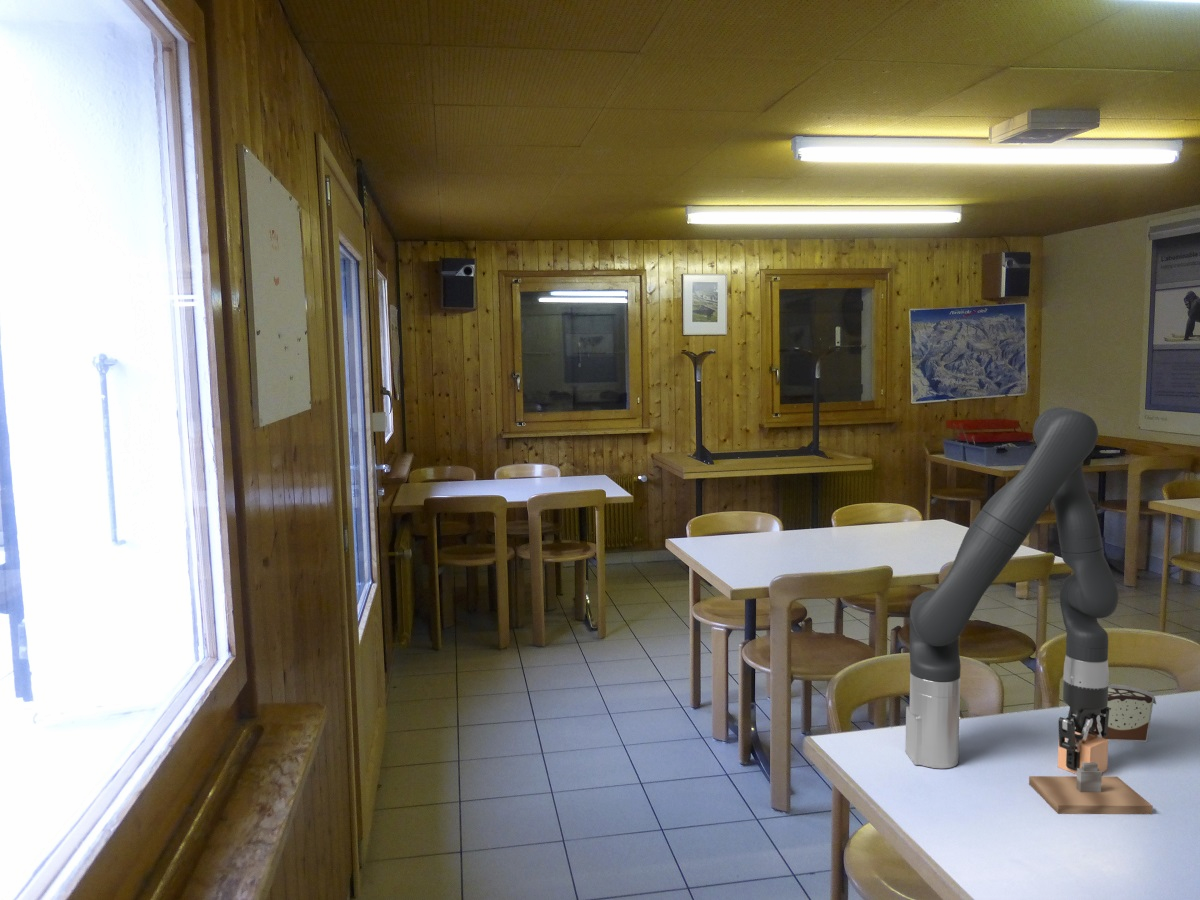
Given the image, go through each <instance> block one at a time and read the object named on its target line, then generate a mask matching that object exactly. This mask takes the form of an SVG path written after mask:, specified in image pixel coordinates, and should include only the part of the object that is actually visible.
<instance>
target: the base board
mask: <svg viewBox="0 0 1200 900" xmlns="http://www.w3.org/2000/svg"><path fill="white" fill-rule="evenodd" d="M1028 784H1029V786H1030V787H1031V788H1032V789H1034V791H1035V792H1036V793H1037V794H1038V795H1039V796H1040V797H1041V798H1042V799H1043V800H1044V802H1046V803H1047V804H1048V805H1049V806H1050V808H1052V810H1054V812H1056V814H1058V815H1059V814H1061V815H1062V814H1063V815H1065V814H1066V815H1067V814H1069V815H1072V814H1073V815H1074V814H1075V815H1078V814H1079V815H1082V814H1083V815H1102V814H1103V815H1153V808H1154V807H1153V805H1152V804H1151V803H1150V802H1149V801H1148V800H1146V799H1145V798H1144V797H1143V796H1142V795H1140V794H1139V793H1138V792H1137V791H1136V790H1134V789H1133V788H1132V787H1130V786H1129V785H1128V784H1127V783H1126V782H1124V781H1123V780H1122V779H1121V778H1120V777H1118V776H1103V772H1101V771H1100V770H1099V769H1098V764H1096V763H1082V768H1077V774H1076V776H1072V775H1071V776H1070V775H1069V776H1068V775H1067V776H1065V775H1064V776H1062V775H1061V776H1060V775H1058V776H1052V775H1050V776H1049V775H1047V776H1046V775H1045V776H1043V775H1042V776H1041V775H1037V776H1035V775H1033V776H1032V775H1029V778H1028Z"/></svg>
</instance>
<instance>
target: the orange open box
mask: <svg viewBox="0 0 1200 900" xmlns="http://www.w3.org/2000/svg"><path fill="white" fill-rule="evenodd" d="M1075 734H1077V735H1081V733H1078V732H1075ZM1065 741H1066V738H1065ZM1076 742H1077V739H1076V738H1075V745H1076ZM1057 750H1058V751H1057V752H1058V755H1057V768H1059V769H1062V770H1064V771H1067V772H1070V773H1073V774H1074V775H1075V774H1076V775H1077V771H1075V770H1072V769H1069V768H1067V766H1066V754H1067V750H1066V749H1064V748H1062V747H1060V746H1059V745H1058V749H1057ZM1079 752H1080V765H1079V768H1082V763H1096V764H1098V769H1099V770H1100V771H1101V772H1102V773H1104V772H1106V771H1108V754H1109V741H1108V740H1107V739H1104V738H1101V737H1096V736H1095V735H1092V734H1089V733H1088V735H1087V738H1086V741H1083V742H1082V744H1081V749H1080V751H1079Z"/></svg>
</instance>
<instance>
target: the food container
mask: <svg viewBox="0 0 1200 900" xmlns="http://www.w3.org/2000/svg"><path fill="white" fill-rule="evenodd" d="M1154 705H1157V700H1156V697H1155V694H1154V693H1153V692H1150V691H1148V690H1145V689H1142V688H1139V687H1136V686H1130V685H1124V684H1123V685H1122V684H1113V683H1112V684H1109V683H1108V705H1107V707H1109V720H1108V730H1107V736H1106V737H1102V738H1104V739H1107V740H1108V742H1109V741H1115V742H1117V741H1118V742H1122V741H1123V742H1143V743H1144V742H1146V743H1147V742H1148V739H1149V737H1148V736H1149V732H1150V724H1151V719H1152V713H1153V706H1154ZM1101 727H1102V724H1101Z"/></svg>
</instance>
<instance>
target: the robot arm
mask: <svg viewBox="0 0 1200 900" xmlns="http://www.w3.org/2000/svg"><path fill="white" fill-rule="evenodd" d="M1032 434H1033V438H1034V442H1035V445H1036V448H1035V449H1034V450H1033V452H1032V455H1031V456H1030V458H1028V461H1027V462H1026V464H1025V465H1024V466H1023V468H1022V469H1021V470H1020V471H1019V472H1018V473H1017V474H1015V476H1014V477H1013V478H1012V479H1010V480H1009V481H1008V482H1007V483H1005V485H1004V486H1002V487H1001V488H1000V489H998V490H997V492H995V493H994V494H993V495H992V496H991V497H990V498H989V499H988V500H987V501H986V503H985V504H984V505H983V507H982V508H981V509H980V511H979V513H978V514H977V515H976V517H975V518H974V519H973V521H972V522H971V524H970V526H968V529H967V531H966V533H965V535H964V536H963V538H962V542H961V544H960V546H959V548H958V551H957V553H956V556H955V559H954V561H953V563H952V565H951V567H950V569H949V571H948V573H947V574H946V576H945V577H944V579H943V580H942V582H940V584H939V585H938V586H937V588H936V589H935V590H934V589H933V590H927V591H924V592H921V593H920V594H918V595H917V596H916V597H915V598H914V600H913V601H912V602H911V606H910V608H909V609H910V610H909V663H910V664H909V667H910V669H909V671H910V672H909V674H910V675H909V677H910V678H909V706H908V705H907V706H906V707H905V708H906V709H905V747H904V748H905V754H906V755H907V756H908V757H909V759H910V760H911V762H912V763H913V764H914V765H915V766H924V767H927V768H932V769H950V768H954V767H956V766H957V765H958V763H959V755H960V751H959V746H960V744H959V743H960V712H961V711H960V707H961V699H960V698H961V667H962V666H961V659H960V658H961V657H960V648H959V647H960V646H959V644H960V636H961V635H962V633H963V631H964V630H965V628H966V626H967V624H968V622H969V620H970V618H971V617H972V615H973V613H974V611H975V610H976V607H977V606H978V604H979V602H980V601H981V599H982V598H983V596H984V595H985V593H986V591H987V590H988V588H989V587H991V585H992V584H993V583H994V582H995V580H996V578H998V577H999V575H1000V574H1001V572H1002V571H1003V570H1004V569H1005V567H1006V566H1007V564H1008V563H1009V562H1010V560H1011V559H1012V558H1013V557H1014V555H1015V554H1016V553H1017V552H1018V550H1019V549H1020V547H1021V546H1022V544H1024V541H1025V540H1026V539H1027V537H1028V536H1029V535H1030V533H1031V531H1032V530H1033V528H1034V526H1035V525H1036V524H1037V522H1038V521H1039V519H1040V517H1041V516H1042V515H1043V513H1044V512H1045V510H1047V508H1048V506H1049V505H1050V504H1051V502H1052V505H1053V510H1054V514H1055V523H1056V528H1057V534H1058V535H1057V536H1058V542H1059V548H1060V555H1061V558H1062V561H1063V562H1064V564H1065V565H1066V566H1067V567H1069V568H1070V569H1071V570H1072V571H1073V574H1070V575H1068V576H1067V577H1066V578H1065V579H1064V581H1063V582H1062V584H1061V587H1060V591H1059V604H1060V611H1061V615H1062V620H1063V623H1064V624H1063V625H1064V627H1065V631H1066V638H1065V640H1066V641H1065V658H1064V663H1063V677H1062V679H1063V682H1062V683H1063V684H1062V700H1063V702H1064V703H1065V704H1066V705H1068V707H1069V711H1068V713H1067V717H1066V718H1065V717H1061V716H1060V717H1059V718H1058V747H1059V746H1060V747H1062V748H1064V749H1066V750H1067V754H1066V766H1067V768H1069V769H1072V770H1075V771H1077V768H1079V765H1080V752H1079V751H1080V749H1081V744H1082V742H1083V741H1086V738H1087V735H1088V733H1089V734H1092V735H1095V736H1096V737H1101V738H1102V737H1106V736H1107V730H1108V720H1109V707H1107V705H1108V684H1109V677H1110V673H1109V671H1110V670H1109V660H1108V659H1109V635H1108V632H1107V631H1106V630H1105V628H1104V627H1102V626H1101V624H1100V623H1099V622H1098V619H1104V618H1108V617H1110V616H1111V615H1112V614H1113V613H1114V612H1115V610H1116V609H1117V607H1118V603H1119V590H1118V586H1117V583H1116V581H1115V578H1114V575H1113V572H1112V570H1111V568H1110V566H1109V563H1108V561H1107V559H1106V557H1105V555H1104V546H1103V539H1102V534H1101V533H1102V532H1101V528H1100V522H1099V519H1098V515H1097V512H1096V509H1095V506H1094V503H1093V501H1092V499H1091V496H1090V493H1089V491H1088V488H1087V484H1086V480H1085V476H1084V471H1083V464H1082V463H1083V462H1084V461H1085V460H1086V458H1088V456H1089V455H1090V454H1091V453H1092V452H1093V451H1094V449H1095V446H1096V444H1097V442H1098V439H1099V429H1098V426H1097V423H1096V421H1095V420H1094V419H1093V418H1092V417H1091V416H1090V415H1089V414H1087V413H1084V412H1082V411H1079V410H1076V409H1072V408H1067V407H1059V406H1058V407H1052V408H1049V409H1047V410H1045V411H1043V412H1042V413H1041V414H1039V416H1038V417H1037V418H1036V420H1035V421H1034V425H1033V431H1032ZM1101 724H1102V727H1101ZM1075 732H1078V733H1081V735H1077V734H1075ZM1065 738H1066V741H1065ZM1075 738H1076V739H1077V742H1076V745H1075Z"/></svg>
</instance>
